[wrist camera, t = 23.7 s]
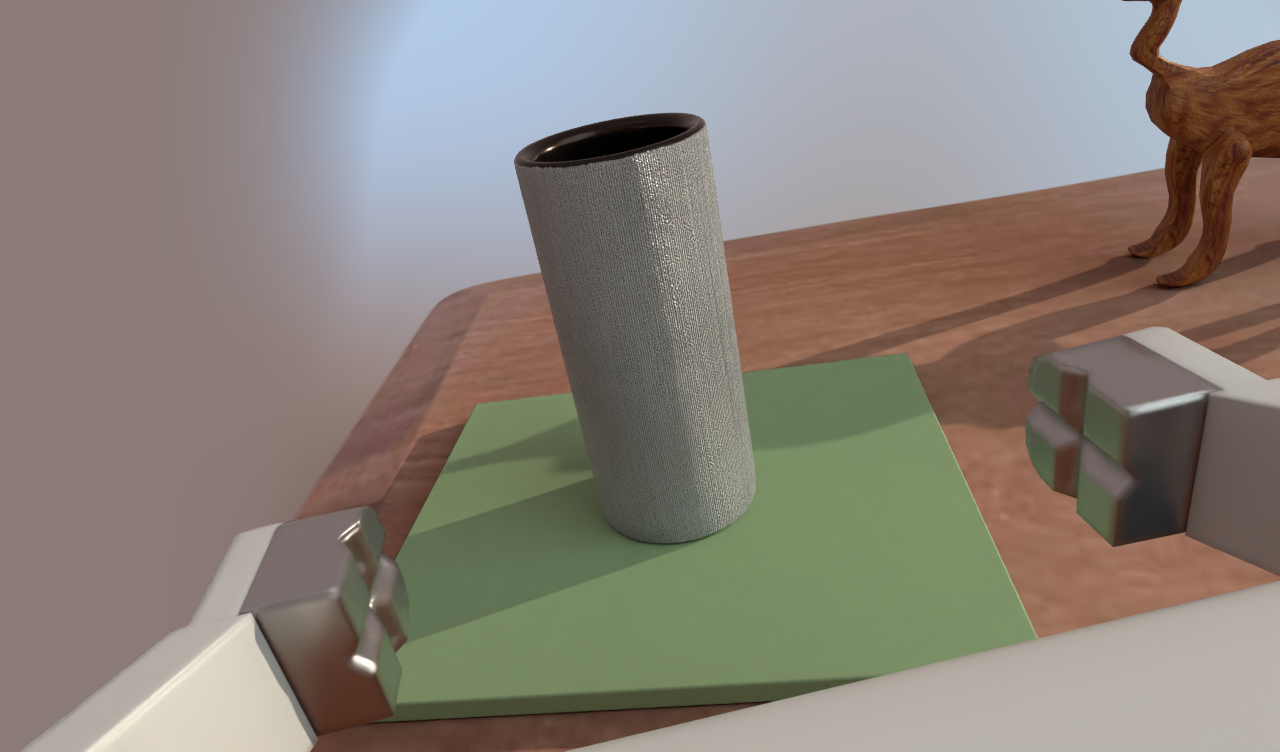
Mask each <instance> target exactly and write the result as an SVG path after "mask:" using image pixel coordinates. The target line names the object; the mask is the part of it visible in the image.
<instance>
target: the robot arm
mask: <svg viewBox="0 0 1280 752" xmlns="http://www.w3.org/2000/svg"><path fill="white" fill-rule="evenodd" d="M1028 389H1029V391H1030V392H1031V393H1032V394H1033V395H1034V396H1035V397H1036V399H1037V400H1038V401H1039V402H1038V403H1037V405H1036V406H1035V408H1034V409H1033V411H1032V412H1031V414H1030V415H1029V416H1028V418H1027V419H1026V445H1027V448H1028V452H1029V455H1030V458H1031V462H1032V464H1033V466H1034V468H1035V469H1036V471H1037V473H1038V474H1039V476H1040V477H1041V479H1042V480H1043V481H1044V482H1045V483H1046V484H1047V485H1048V486H1049V487H1050V488H1051V489H1052V490H1053V491H1056V492H1059V493H1062V494H1065V495H1068V496H1071V497H1074V498H1077V511H1076V513H1077V514H1078V515H1080V516H1081V517H1082V518H1083V519H1084V520H1085V521H1086V522H1087V523H1088V524H1089V525H1090V526H1091V527H1092V528H1093V529H1094V530H1095V531H1097V532H1098V533H1099V534H1100V535H1101V536H1102V537H1103V538H1104V539H1105V540H1106V541H1107V542H1108V543H1109V544H1110V545H1111V546H1112V547H1116V546H1121V545H1125V544H1130V543H1135V542H1140V541H1145V540H1150V539H1154V538H1159V537H1164V536H1169V535H1174V534H1179V533H1183V532H1186V534H1185V535H1186V536H1188V537H1190V538H1192V539H1195V540H1197V541H1199V542H1202V543H1204V544H1206V545H1209V546H1211V547H1213V548H1216V549H1218V550H1220V551H1223V552H1225V553H1227V554H1230V555H1232V556H1234V557H1237V558H1239V559H1241V560H1244V561H1246V562H1248V563H1251V564H1253V565H1255V566H1257V567H1260V568H1262V569H1264V570H1267V571H1269V572H1271V573H1274V574H1276V575H1278V576H1280V378H1276V379H1272V380H1265V379H1263V378H1262V377H1260V376H1258V375H1256V374H1254V373H1252V372H1250V371H1248V370H1246V369H1245V368H1243V367H1241V366H1239V365H1237V364H1235V363H1233V362H1231V361H1229V360H1227V359H1226V358H1224V357H1222V356H1220V355H1218V354H1216V353H1214V352H1212V351H1210V350H1209V349H1207V348H1205V347H1203V346H1201V345H1199V344H1197V343H1195V342H1193V341H1191V340H1190V339H1188V338H1186V337H1184V336H1182V335H1180V334H1178V333H1176V332H1174V331H1173V330H1171V329H1169V328H1164V327H1150V328H1146V329H1142V330H1139V331H1135V332H1131V333H1127V334H1123V335H1120V336H1116V337H1113V338H1109V339H1105V340H1101V341H1097V342H1093V343H1089V344H1085V345H1081V346H1077V347H1073V348H1069V349H1065V350H1061V351H1057V352H1053V353H1049V354H1045V355H1041V356H1038V357H1034V359H1033V362H1032V364H1031V367H1030V369H1029V378H1028ZM385 535H386V533H385V531H384V528H383V526H382V524H381V522H380V520H379V517H378V515H377V513H376V511H375V510H373V509H372V508H371V507H370V506H368V505H366V506H361V507H356V508H352V509H347V510H342V511H337V512H332V513H327V514H322V515H317V516H312V517H307V518H303V519H298V520H293V521H288V522H285V523H276V524H272V525H268V526H264V527H260V528H256V529H251V530H247V531H244V532H242V533H239V534H237V535H235V536H234V538H233V540H232V542H231V543H230V545H229V547H228V549H227V551H226V553H225V555H224V557H223V559H222V561H221V563H220V564H219V566H218V568H217V570H216V572H215V574H214V576H213V578H212V580H211V582H210V584H209V586H208V588H207V590H206V591H205V593H204V595H203V597H202V599H201V601H200V603H199V605H198V607H197V609H196V610H195V613H194V614H193V616H192V618H191V620H190V622H189V624H188V626H187V627H185V628H181V629H177V630H173V631H171V632H170V633H169V634H168V635H166V636H165V637H164V638H162V639H161V640H160V641H159V642H157V643H156V644H155V645H154V646H152V647H151V648H150V649H149V650H147V651H146V652H145V653H143V654H142V655H141V656H140V657H138V658H137V659H136V660H135V661H133V662H132V663H131V664H129V665H128V666H127V667H126V668H124V669H123V670H122V671H121V672H119V673H118V674H117V675H115V676H114V677H113V678H112V679H110V680H109V681H108V682H107V683H105V684H104V685H103V686H102V687H100V688H99V689H98V690H97V691H95V692H94V693H93V694H91V695H90V696H89V697H87V698H86V699H85V700H84V701H82V702H81V703H80V704H79V705H77V706H76V707H75V708H73V709H72V710H71V711H70V712H68V713H67V714H66V715H65V716H63V717H62V718H61V719H60V720H58V721H57V722H56V723H54V724H53V725H52V726H51V727H49V728H48V729H47V730H46V731H44V732H43V733H42V734H41V735H39V736H38V737H37V738H35V739H34V740H33V741H32V742H30V743H29V744H28V745H26V746H25V747H24V748H23V749H21V750H20V751H19V752H310V751H311V750H312V748H313V747H314V746H315V744H316V743H317V742H318V738H317V736H321V735H324V734H328V733H332V732H336V731H340V730H343V729H347V728H351V727H355V726H358V725H362V724H366V723H370V722H374V721H377V720H381V719H385V718H389V717H393V716H394V714H395V708H396V702H397V697H398V691H399V685H400V680H401V674H402V668H401V665H400V663H399V661H398V658H397V656H396V654H395V653H396V652H397V651H398V650H399V649H400V648H401V647H402V646H403V645H404V643H405V642H406V641H407V639H408V632H409V625H410V614H409V598H408V594H407V590H406V586H405V581H404V578H403V575H402V573H401V570H400V568H399V565H398V563H397V562H395V561H394V560H392V559H391V558H389V557H387V556H386V555H384V554H383V553H381V552H382V548H383V543H384V539H385ZM565 752H1280V581H1276V582H1272V583H1267V584H1263V585H1259V586H1255V587H1251V588H1246V589H1242V590H1238V591H1234V592H1230V593H1226V594H1221V595H1217V596H1213V597H1209V598H1205V599H1200V600H1196V601H1192V602H1188V603H1184V604H1179V605H1175V606H1171V607H1167V608H1163V609H1159V610H1154V611H1150V612H1146V613H1142V614H1138V615H1133V616H1129V617H1125V618H1121V619H1117V620H1112V621H1108V622H1104V623H1100V624H1096V625H1092V626H1087V627H1083V628H1079V629H1075V630H1071V631H1066V632H1062V633H1058V634H1054V635H1050V636H1045V637H1041V638H1037V639H1033V640H1029V641H1025V642H1020V643H1016V644H1012V645H1008V646H1004V647H999V648H995V649H991V650H987V651H983V652H978V653H974V654H970V655H966V656H962V657H958V658H953V659H949V660H945V661H941V662H937V663H933V664H929V665H924V666H920V667H916V668H912V669H908V670H904V671H900V672H895V673H891V674H887V675H883V676H879V677H875V678H871V679H866V680H862V681H858V682H854V683H850V684H846V685H841V686H837V687H833V688H829V689H825V690H820V691H816V692H812V693H808V694H804V695H799V696H795V697H791V698H787V699H783V700H779V701H774V702H770V703H766V704H762V705H758V706H753V707H749V708H745V709H741V710H737V711H732V712H728V713H724V714H720V715H716V716H712V717H707V718H703V719H699V720H695V721H691V722H686V723H682V724H678V725H674V726H670V727H665V728H661V729H657V730H653V731H649V732H645V733H640V734H636V735H632V736H628V737H624V738H619V739H615V740H611V741H607V742H603V743H598V744H594V745H590V746H586V747H582V748H578V749H573V750H569V751H565Z"/></svg>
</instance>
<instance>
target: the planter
mask: <svg viewBox="0 0 1280 752" xmlns="http://www.w3.org/2000/svg"><path fill="white" fill-rule="evenodd" d="M514 164H515V169H516V173H517V177H518V181H519V184H520V189H521V193H522V197H523V201H524V205H525V209H526V213H527V216H528V220H529V225H530V229H531V233H532V237H533V240H534V244H535V248H536V252H537V256H538V260H539V264H540V268H541V272H542V276H543V280H544V284H545V288H546V292H547V296H548V300H549V304H550V308H551V312H552V316H553V320H554V324H555V328H556V331H557V335H558V339H559V343H560V347H561V351H562V355H563V359H564V363H565V367H566V371H567V375H568V379H569V383H570V387H571V391H572V395H573V399H574V403H575V407H576V411H577V415H578V419H579V423H580V426H581V430H582V434H583V438H584V442H585V446H586V450H587V454H588V458H589V462H590V466H591V470H592V474H593V478H594V482H595V486H596V490H597V494H598V497H599V501H600V504H601V507H602V510H603V513H604V516H605V518H606V519H607V521H608V522H609V524H610V525H611V526H612V527H613V528H614V529H616V530H617V531H619V532H620V533H622V534H624V535H625V536H628V537H630V538H633V539H636V540H639V541H643V542H649V543H663V544H667V543H680V542H686V541H692V540H696V539H699V538H703V537H706V536H708V535H711V534H713V533H716V532H718V531H720V530H722V529H724V528H725V527H727V526H729V525H730V524H732V523H733V522H734V521H736V520H737V519H738V518H739V517H740V516H741V515H742V514H743V513H744V512H745V511H746V510H747V508H748V507H749V506H750V504H751V503H752V500H753V498H754V495H755V492H756V478H755V465H754V458H753V451H752V444H751V437H750V430H749V423H748V415H747V408H746V401H745V394H744V387H743V380H742V373H741V366H740V359H739V351H738V344H737V337H736V330H735V323H734V316H733V309H732V302H731V294H730V287H729V280H728V273H727V266H726V259H725V252H724V245H723V238H722V231H721V223H720V216H719V209H718V202H717V196H716V188H715V181H714V174H713V166H712V160H711V153H710V145H709V138H708V132H707V126H706V123H705V121H704V120H703V119H702V118H701V117H699V116H696V115H693V114H687V113H657V114H646V115H639V116H631V117H624V118H618V119H613V120H608V121H603V122H598V123H594V124H590V125H585V126H581V127H578V128H574V129H570V130H567V131H564V132H561V133H557V134H554V135H551V136H548V137H546V138H543V139H541V140H538V141H536V142H534V143H532V144H530V145H528V146H526V147H525V148H523V149H522V150H521V151H520V152H519V153H518V154H517V155H516V157H515V160H514Z"/></svg>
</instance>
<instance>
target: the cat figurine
mask: <svg viewBox="0 0 1280 752" xmlns="http://www.w3.org/2000/svg"><path fill="white" fill-rule="evenodd" d="M1123 1H1150V2H1151V3H1152V5H1153V9H1152V13H1151V16H1150V17H1149V19H1148V21H1147V22H1146V23H1145V25H1144V26H1143V27H1142V29H1141V30H1140V32H1139V33H1138V35H1137V36H1136V38H1135V40H1134V42H1133V44H1132V46H1131V49H1130V55H1131V57H1132V59H1133V60H1134V61H1136V62H1137V63H1139V64H1141V65H1143V66H1144V67H1145V68H1147V69H1148V70H1149V71H1150V72H1152V73H1153V76H1152V80H1151V84H1150V86H1149V88H1148V90H1147V93H1146V109H1147V112H1148V114H1149V117H1150V119H1151V121H1152V122H1153V123H1154V124H1155V125H1156V126H1157V127H1158V128H1159V129H1160V130H1161V131H1162V132H1164V133H1165V134H1167V135H1168V136H1169V137H1171V138H1170V141H1169V145H1168V149H1167V153H1166V163H1165V176H1166V182H1167V187H1168V192H1169V204H1168V209H1167V212H1166V215H1165V217H1164V218H1163V220H1162V221H1161V223H1160V224H1159V225H1158V227H1157V228H1156V230H1155V231H1154V233H1153V235H1152V236H1151V238H1150V239H1148V240H1146V241H1145V242H1142V243H1140V244H1136V245H1132V246H1129V248H1128V250H1129V252H1130V253H1132V254H1133V255H1136V256H1139V257H1153V256H1157V255H1160V254H1163V253H1165V252H1168V251H1170V250H1172V249H1173V248H1175V247H1176V246H1178V245H1179V244H1180V243H1181V242H1182V241H1183V240H1184V239H1185V238H1186V237H1187V235H1188V233H1189V231H1190V229H1191V226H1192V222H1193V218H1194V213H1195V207H1196V198H1197V179H1198V170H1199V168H1200V166H1201V163H1202V171H1201V182H1200V194H1199V198H1200V205H1201V212H1202V217H1203V233H1202V236H1201V239H1200V242H1199V244H1198V246H1197V247H1196V249H1195V250H1194V251H1193V253H1192V254H1191V255H1190V256H1189V258H1188V259H1187V261H1186V263H1185V264H1184V265H1183V266H1182V267H1181V268H1180V269H1178V270H1176V271H1175V272H1172V273H1169V274H1165V275H1161V276H1158V277H1157V278H1156V279H1157V282H1158V283H1160V284H1162V285H1165V286H1169V287H1180V286H1185V285H1189V284H1192V283H1195V282H1197V281H1200V280H1202V279H1204V278H1205V277H1207V276H1209V275H1210V274H1211V273H1212V272H1213V271H1214V270H1215V269H1216V268H1217V267H1218V265H1219V264H1220V263H1221V261H1222V259H1223V257H1224V254H1225V252H1226V247H1227V243H1228V239H1229V234H1230V227H1231V220H1232V202H1233V195H1234V191H1235V189H1236V187H1237V185H1238V183H1239V181H1240V179H1241V177H1242V175H1243V173H1244V172H1245V170H1246V168H1247V166H1248V163H1249V161H1250V158H1251V157H1263V158H1280V40H1276V41H1271V42H1268V43H1265V44H1263V45H1260V46H1257V47H1254V48H1252V49H1249V50H1247V51H1244V52H1243V53H1240V54H1238V55H1237V56H1234V57H1232V58H1230V59H1228V60H1226V61H1223V62H1221V63H1219V64H1217V65H1214V66H1212V67H1202V68H1193V67H1188V66H1183V65H1180V64H1177V63H1173V62H1171V61H1168V60H1167V59H1165V58H1163V57H1162V56H1160V55H1159V47H1160V46H1161V44H1162V43H1163V42H1164V40H1165V38H1166V37H1167V35H1168V33H1169V31H1170V30H1171V28H1172V26H1173V24H1174V22H1175V19H1176V17H1177V14H1178V11H1179V7H1180V4H1181V1H1182V0H1123Z"/></svg>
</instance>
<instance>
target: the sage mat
mask: <svg viewBox="0 0 1280 752" xmlns="http://www.w3.org/2000/svg"><path fill="white" fill-rule="evenodd" d="M742 380H743V387H744V394H745V401H746V408H747V415H748V423H749V430H750V437H751V444H752V451H753V458H754V465H755V478H756V492H755V495H754V498H753V500H752V503H751V504H750V506H749V507H748V508H747V510H746V511H745V512H744V513H743V514H742V515H741V516H740V517H739V518H738V519H737V520H736V521H734V522H733V523H732V524H730V525H729V526H727V527H725V528H724V529H722V530H720V531H718V532H716V533H713V534H711V535H708V536H706V537H703V538H699V539H696V540H692V541H686V542H680V543H667V544H663V543H649V542H643V541H639V540H636V539H633V538H630V537H628V536H625V535H624V534H622V533H620V532H619V531H617V530H616V529H614V528H613V527H612V526H611V525H610V524H609V522H608V521H607V519H606V518H605V516H604V513H603V510H602V507H601V504H600V501H599V497H598V494H597V490H596V486H595V482H594V478H593V474H592V470H591V466H590V462H589V458H588V454H587V450H586V446H585V442H584V438H583V434H582V430H581V426H580V423H579V419H578V415H577V411H576V407H575V403H574V399H573V395H572V393H566V394H558V395H549V396H541V397H532V398H524V399H515V400H507V401H499V402H490V403H482V404H476V406H475V408H474V410H473V411H472V413H471V415H470V417H469V419H468V421H467V423H466V425H465V427H464V429H463V431H462V432H461V434H460V436H459V438H458V440H457V442H456V444H455V446H454V448H453V450H452V452H451V453H450V455H449V457H448V459H447V461H446V463H445V465H444V467H443V469H442V471H441V473H440V474H439V476H438V478H437V480H436V482H435V484H434V486H433V488H432V490H431V492H430V494H429V496H428V497H427V499H426V501H425V503H424V505H423V507H422V509H421V511H420V513H419V515H418V517H417V518H416V520H415V522H414V524H413V526H412V528H411V530H410V532H409V534H408V536H407V538H406V539H405V541H404V543H403V545H402V547H401V549H400V551H399V553H398V555H397V557H396V559H395V560H394V561H395V562H397V563H398V565H399V568H400V570H401V573H402V575H403V578H404V581H405V586H406V590H407V594H408V598H409V614H410V625H409V632H408V639H407V641H406V642H405V643H404V645H403V646H402V647H401V648H400V649H399V650H398V651H397V652H396V653H395V654H396V656H397V658H398V661H399V663H400V665H401V668H402V674H401V680H400V685H399V691H398V697H397V702H396V708H395V714H394V716H393V717H389V718H385V719H381V720H377V721H374V722H392V721H411V720H429V719H448V718H467V717H485V716H504V715H523V714H542V713H560V712H579V711H598V710H616V709H635V708H654V707H672V706H691V705H710V704H728V703H747V702H766V701H779V700H783V699H787V698H791V697H795V696H799V695H804V694H808V693H812V692H816V691H820V690H825V689H829V688H833V687H837V686H841V685H846V684H850V683H854V682H858V681H862V680H866V679H871V678H875V677H879V676H883V675H887V674H891V673H895V672H900V671H904V670H908V669H912V668H916V667H920V666H924V665H929V664H933V663H937V662H941V661H945V660H949V659H953V658H958V657H962V656H966V655H970V654H974V653H978V652H983V651H987V650H991V649H995V648H999V647H1004V646H1008V645H1012V644H1016V643H1020V642H1025V641H1029V640H1033V639H1037V638H1038V637H1037V635H1036V633H1035V631H1034V629H1033V626H1032V624H1031V622H1030V620H1029V618H1028V616H1027V613H1026V611H1025V609H1024V607H1023V605H1022V602H1021V600H1020V598H1019V596H1018V594H1017V592H1016V589H1015V587H1014V585H1013V583H1012V581H1011V578H1010V576H1009V574H1008V572H1007V570H1006V568H1005V565H1004V563H1003V561H1002V559H1001V557H1000V555H999V552H998V550H997V548H996V546H995V544H994V541H993V539H992V537H991V535H990V533H989V531H988V528H987V526H986V524H985V522H984V520H983V518H982V515H981V513H980V511H979V509H978V507H977V504H976V502H975V500H974V498H973V496H972V494H971V491H970V489H969V487H968V485H967V483H966V480H965V478H964V476H963V474H962V472H961V470H960V467H959V465H958V463H957V461H956V459H955V457H954V454H953V452H952V450H951V448H950V446H949V443H948V441H947V439H946V437H945V435H944V433H943V430H942V428H941V426H940V424H939V422H938V419H937V417H936V415H935V413H934V411H933V409H932V406H931V404H930V402H929V400H928V398H927V396H926V393H925V391H924V389H923V387H922V385H921V382H920V380H919V378H918V376H917V374H916V372H915V369H914V367H913V365H912V363H911V361H910V358H909V356H908V354H907V353H903V354H895V355H886V356H878V357H869V358H861V359H853V360H844V361H836V362H827V363H819V364H810V365H802V366H794V367H785V368H777V369H768V370H760V371H751V372H743V373H742ZM370 723H373V722H370Z"/></svg>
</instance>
